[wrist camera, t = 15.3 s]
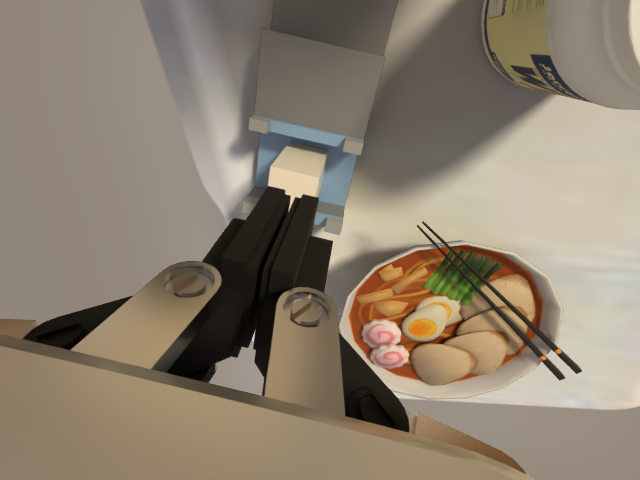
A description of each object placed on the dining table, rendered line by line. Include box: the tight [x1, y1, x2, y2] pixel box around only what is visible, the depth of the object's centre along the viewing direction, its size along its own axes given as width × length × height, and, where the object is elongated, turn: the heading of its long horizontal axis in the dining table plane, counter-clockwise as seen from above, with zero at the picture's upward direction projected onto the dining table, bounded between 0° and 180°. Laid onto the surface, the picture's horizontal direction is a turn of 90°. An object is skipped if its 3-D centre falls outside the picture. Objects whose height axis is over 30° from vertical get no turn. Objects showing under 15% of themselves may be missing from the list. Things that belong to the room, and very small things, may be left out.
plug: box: [268, 142, 328, 210], centre depth 31 cm, size 4×4×8 cm
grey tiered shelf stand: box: [242, 0, 398, 235], centre depth 29 cm, size 24×10×6 cm, turn 169°
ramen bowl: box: [338, 222, 582, 399], centre depth 38 cm, size 25×23×8 cm
